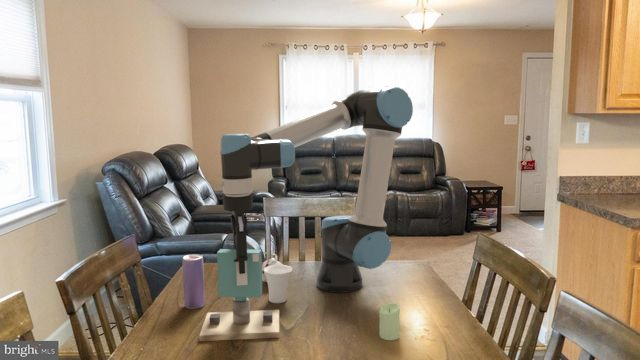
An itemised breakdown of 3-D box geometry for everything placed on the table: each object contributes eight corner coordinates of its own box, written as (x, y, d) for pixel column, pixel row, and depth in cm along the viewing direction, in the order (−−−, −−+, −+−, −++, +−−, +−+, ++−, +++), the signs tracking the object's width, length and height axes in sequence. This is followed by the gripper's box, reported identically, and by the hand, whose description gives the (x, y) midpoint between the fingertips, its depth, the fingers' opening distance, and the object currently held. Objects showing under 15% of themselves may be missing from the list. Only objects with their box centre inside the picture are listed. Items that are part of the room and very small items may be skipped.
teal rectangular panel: (222, 296, 130) (220, 248, 128) (262, 297, 129) (261, 249, 127) (218, 301, 126) (216, 252, 124) (260, 302, 125) (258, 253, 124)
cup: (278, 308, 141) (278, 275, 139) (258, 300, 147) (257, 268, 146) (300, 299, 147) (299, 268, 146) (279, 291, 154) (278, 261, 152)
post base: (279, 314, 136) (278, 289, 135) (279, 337, 123) (278, 309, 121) (207, 317, 135) (206, 292, 134) (199, 341, 121) (198, 312, 120)
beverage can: (199, 310, 140) (197, 260, 138) (180, 308, 141) (178, 259, 139) (208, 302, 145) (206, 254, 143) (190, 301, 147) (188, 253, 144)
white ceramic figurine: (268, 248, 169) (272, 255, 155) (288, 258, 171) (293, 267, 156) (255, 272, 169) (257, 282, 154) (274, 282, 170) (279, 293, 155)
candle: (385, 342, 120) (386, 310, 118) (375, 333, 124) (376, 303, 123) (402, 338, 122) (403, 307, 120) (392, 330, 126) (392, 300, 125)
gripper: (220, 189, 131) (224, 272, 134) (225, 201, 114) (229, 294, 118) (248, 188, 133) (251, 269, 136) (256, 199, 116) (259, 291, 119)
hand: (241, 281), depth 127 cm, fingers closed on teal rectangular panel, 4 cm apart
